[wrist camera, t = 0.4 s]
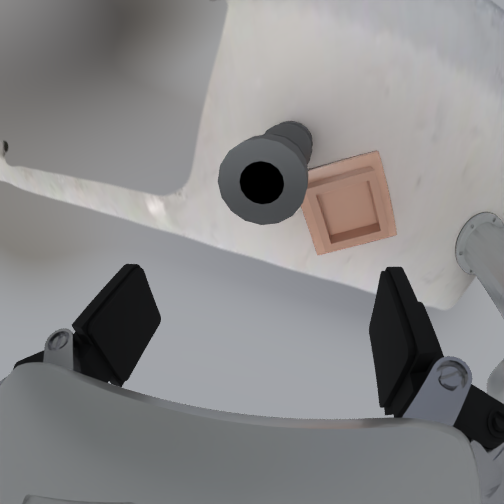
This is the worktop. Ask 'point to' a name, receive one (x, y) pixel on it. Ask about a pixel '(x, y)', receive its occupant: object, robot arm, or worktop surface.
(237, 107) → the worktop surface
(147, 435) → the robot arm
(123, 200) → the worktop surface
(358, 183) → the square tray
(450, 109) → the worktop surface
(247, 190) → the candle holder
